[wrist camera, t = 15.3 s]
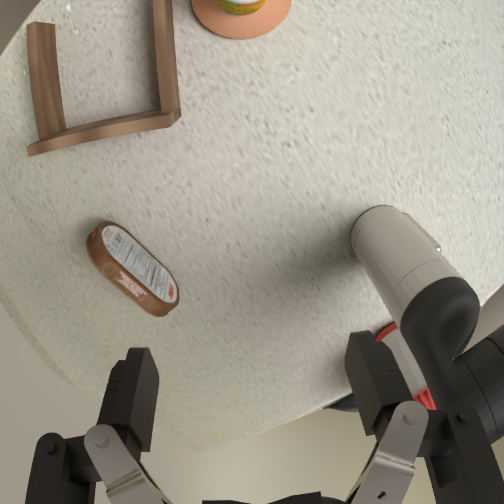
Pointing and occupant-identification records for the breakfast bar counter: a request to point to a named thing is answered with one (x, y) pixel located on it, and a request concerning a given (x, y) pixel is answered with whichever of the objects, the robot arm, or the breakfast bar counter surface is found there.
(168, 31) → the cubby
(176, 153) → the breakfast bar counter surface
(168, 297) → the tin
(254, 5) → the supplement bottle
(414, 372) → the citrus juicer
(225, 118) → the breakfast bar counter surface
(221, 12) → the coaster
